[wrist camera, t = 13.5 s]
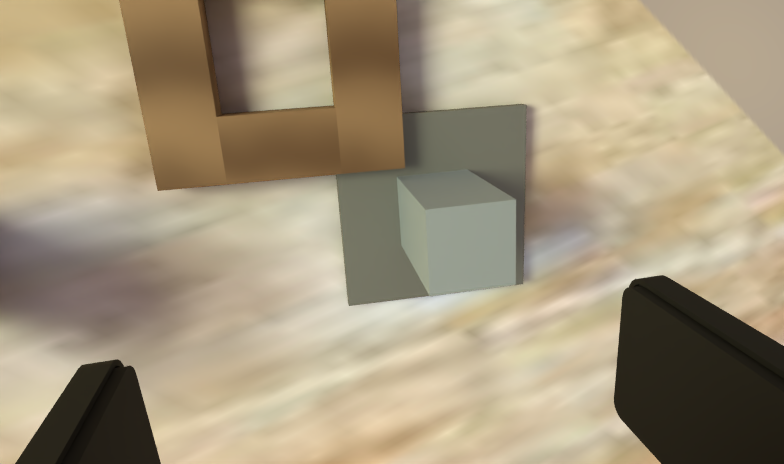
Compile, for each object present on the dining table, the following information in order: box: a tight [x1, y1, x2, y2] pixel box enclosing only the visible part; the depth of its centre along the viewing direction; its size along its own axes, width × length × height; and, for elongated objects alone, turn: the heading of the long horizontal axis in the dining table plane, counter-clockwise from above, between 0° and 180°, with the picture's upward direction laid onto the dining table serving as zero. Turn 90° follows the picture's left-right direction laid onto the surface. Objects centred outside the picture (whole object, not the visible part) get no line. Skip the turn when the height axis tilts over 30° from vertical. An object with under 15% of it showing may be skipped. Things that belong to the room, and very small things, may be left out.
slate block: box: [397, 169, 516, 296], centre depth 30 cm, size 4×4×8 cm
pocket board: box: [119, 0, 405, 191], centre depth 29 cm, size 14×14×2 cm
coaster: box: [336, 104, 526, 306], centre depth 34 cm, size 12×12×1 cm
